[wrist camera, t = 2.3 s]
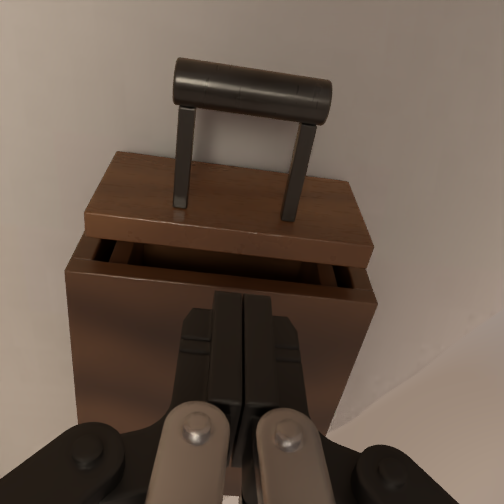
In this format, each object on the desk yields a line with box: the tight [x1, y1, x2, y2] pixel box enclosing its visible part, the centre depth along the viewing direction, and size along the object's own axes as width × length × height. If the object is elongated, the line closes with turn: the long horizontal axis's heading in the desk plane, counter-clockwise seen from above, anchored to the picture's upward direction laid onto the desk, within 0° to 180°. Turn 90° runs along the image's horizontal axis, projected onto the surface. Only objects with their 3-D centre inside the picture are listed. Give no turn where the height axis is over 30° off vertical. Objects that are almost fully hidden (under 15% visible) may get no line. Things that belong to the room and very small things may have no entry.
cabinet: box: [64, 231, 378, 496], centre depth 27 cm, size 16×13×8 cm
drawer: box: [84, 57, 374, 287], centre depth 24 cm, size 20×12×6 cm, turn 171°
